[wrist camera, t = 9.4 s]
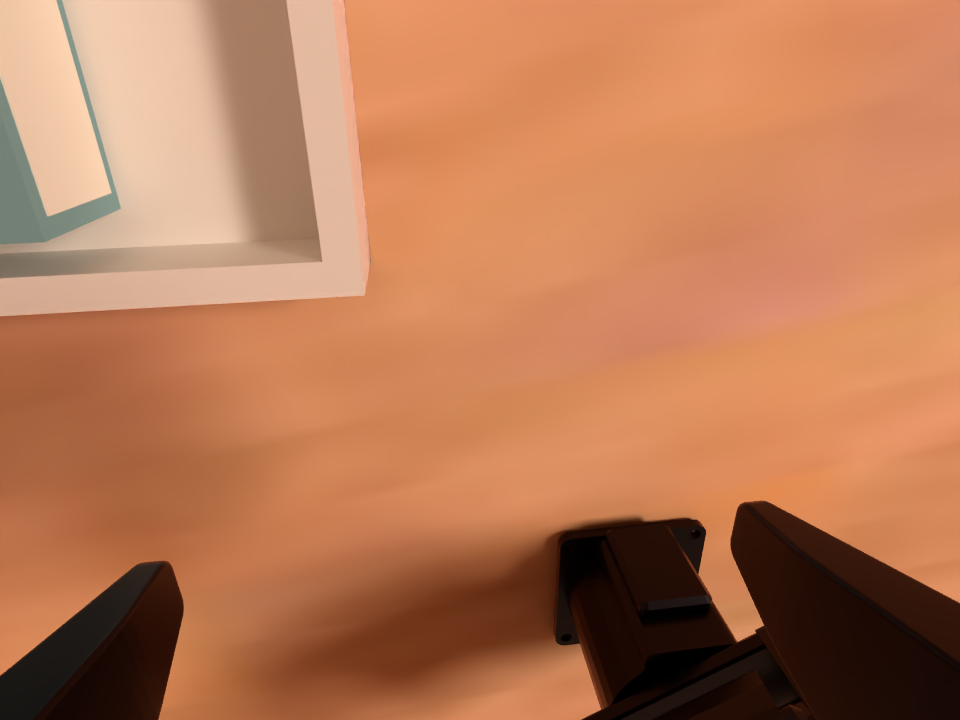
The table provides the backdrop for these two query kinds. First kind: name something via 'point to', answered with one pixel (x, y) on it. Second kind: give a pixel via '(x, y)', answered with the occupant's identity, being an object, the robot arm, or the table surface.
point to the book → (46, 129)
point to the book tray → (209, 161)
